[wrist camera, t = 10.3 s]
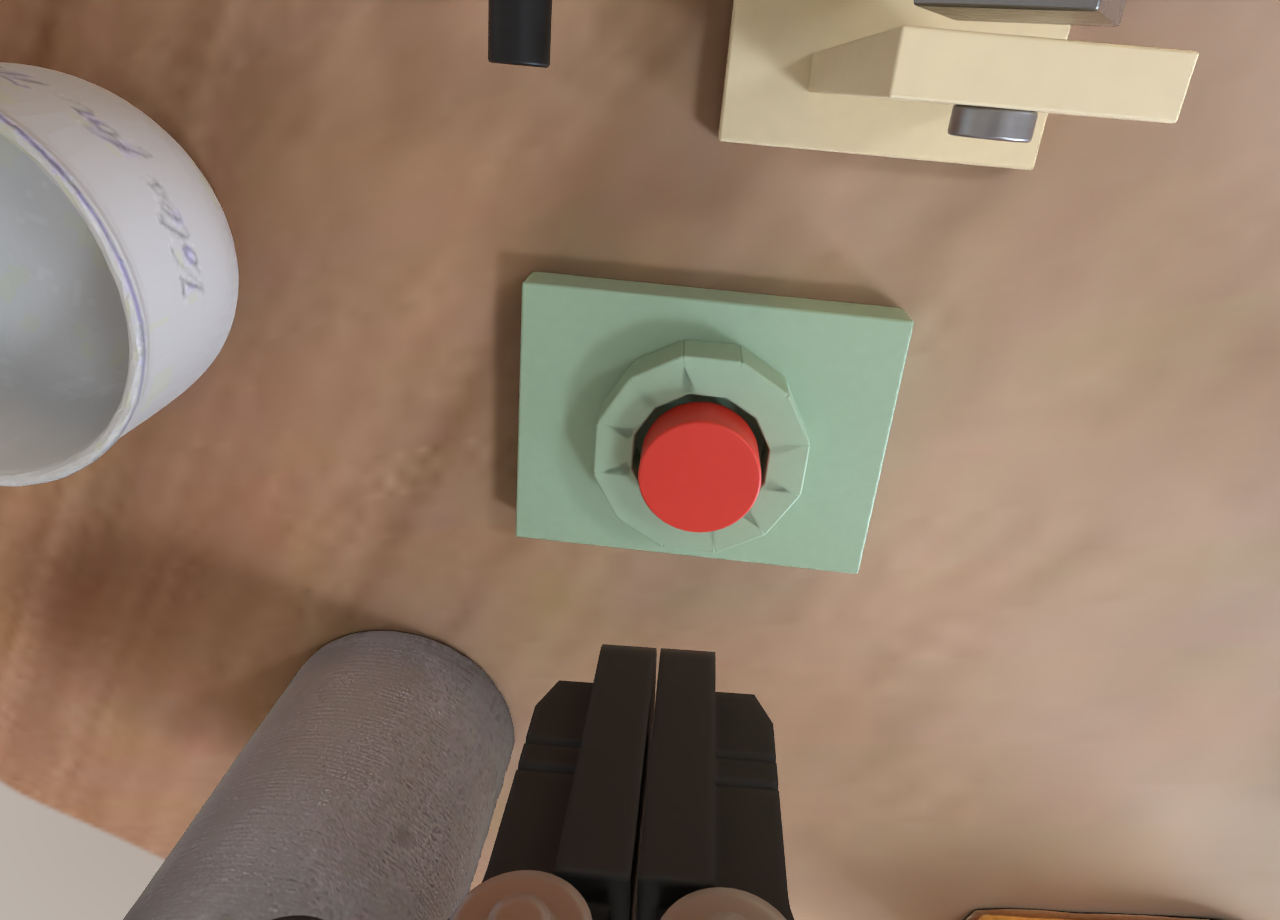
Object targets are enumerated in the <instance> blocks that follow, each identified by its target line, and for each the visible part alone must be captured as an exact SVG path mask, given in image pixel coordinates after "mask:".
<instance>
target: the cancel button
mask: <svg viewBox="0 0 1280 920" xmlns="http://www.w3.org/2000/svg"><path fill="white" fill-rule="evenodd" d="M761 478H762V476H761V466H760V458H759V451H758V446H757V441H756V438H755V436H754V433H753V432H752V430H751V428H750V427H749V425H748V424H747V422H746V421H745V420H744V419H743V418H742V417H741V416H739V415H738V414H737V413H736V412H734V411H732V410H731V409H729V408H727V407H724V406H722V405H719V404H716V403H711V402H689V403H684V404H681V405H678V406H675V407H673V408H671V409H669V410H668V411H666V412H665V413H663V414H662V415H661V416H660V417H658V418H657V419H656V421H655V422H654V423H653V424H652V425H651V427H650V428H649V430H648V432H647V434H646V436H645V439H644V442H643V447H642V452H641V458H640V464H639V470H638V483H639V488H640V492H641V495H642V497H643V499H644V501H645V503H646V504H647V506H648V507H649V509H650V510H651V511H652V512H653V513H654V514H655V515H656V516H657V517H658V518H659V519H661V520H662V521H663V522H665V523H667V524H668V525H670V526H672V527H675V528H677V529H680V530H684V531H689V532H699V533H701V532H711V531H716V530H720V529H723V528H725V527H728V526H730V525H732V524H733V523H735V522H737V521H738V520H739V519H741V518H742V517H743V516H744V515H745V514H746V513H747V512H748V511H749V510H750V508H751V507H752V506H753V504H754V502H755V501H756V499H757V496H758V494H759V491H760V487H761Z"/></svg>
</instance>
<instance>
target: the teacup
mask: <svg viewBox="0 0 1280 920" xmlns="http://www.w3.org/2000/svg"><path fill="white" fill-rule="evenodd" d="M238 288H239V275H238V264H237V256H236V251H235V246H234V241H233V237H232V234H231V231H230V228H229V225H228V222H227V219H226V217H225V215H224V212H223V210H222V208H221V205H220V203H219V201H218V199H217V198H216V196H215V194H214V192H213V190H212V188H211V186H210V185H209V183H208V182H207V180H206V178H205V177H204V175H203V174H202V172H201V171H200V170H199V168H198V167H197V165H196V164H195V163H194V161H193V160H192V159H191V158H190V156H189V155H188V154H187V153H186V152H185V150H184V149H183V148H182V147H181V146H180V145H179V144H178V143H177V142H176V141H175V140H174V139H173V138H172V137H171V136H170V135H169V134H168V133H167V132H166V131H165V130H164V129H163V128H161V127H160V126H159V125H158V124H157V123H156V122H154V121H153V120H152V119H151V118H150V117H148V116H147V115H146V114H145V113H143V112H142V111H140V110H139V109H137V108H136V107H134V106H133V105H131V104H130V103H129V102H127V101H126V100H124V99H123V98H121V97H119V96H117V95H115V94H114V93H112V92H110V91H108V90H106V89H104V88H102V87H100V86H98V85H95V84H93V83H90V82H88V81H86V80H83V79H81V78H78V77H76V76H73V75H69V74H66V73H63V72H59V71H56V70H51V69H47V68H42V67H38V66H31V65H24V64H17V63H5V62H0V486H26V485H34V484H41V483H46V482H50V481H55V480H59V479H62V478H64V477H66V476H68V475H71V474H73V473H75V472H77V471H79V470H81V469H82V468H84V467H86V466H87V465H89V464H91V463H93V462H94V461H96V460H97V459H98V458H99V457H100V456H102V455H103V454H104V453H105V452H106V451H107V450H108V449H109V448H111V447H112V446H113V445H114V444H115V443H116V441H117V440H118V439H119V438H120V437H122V436H123V435H125V434H126V433H128V432H129V431H131V430H132V429H134V428H135V427H137V426H138V425H139V424H141V423H142V422H144V421H145V420H147V419H148V418H149V417H151V416H152V415H154V414H155V413H156V412H158V411H159V410H161V409H162V408H163V407H165V406H166V405H168V404H169V403H170V402H171V401H173V400H174V399H175V398H177V397H178V396H179V395H180V394H182V393H183V392H184V391H186V390H187V389H188V388H189V387H190V386H191V385H192V384H193V383H194V382H195V381H196V380H197V379H198V378H199V377H200V376H201V375H202V374H203V373H204V372H205V371H206V370H207V368H208V367H209V366H210V365H211V364H212V362H213V361H214V359H215V358H216V357H217V355H218V354H219V352H220V351H221V349H222V347H223V345H224V343H225V341H226V339H227V336H228V334H229V332H230V329H231V326H232V323H233V320H234V317H235V311H236V305H237V299H238Z"/></svg>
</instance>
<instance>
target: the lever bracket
mask: <svg viewBox="0 0 1280 920" xmlns="http://www.w3.org/2000/svg"><path fill="white" fill-rule="evenodd" d="M1070 27H1071V25H1054V24H1029V23H1005V22H980V21H956V20H953V19H950V18H948V17H945V16H942V15H940V14H937V13H934V12H932V11H929V10H926V9H924V8H921V7H918V6H916V5H914V0H734V1H733V10H732V19H731V28H730V37H729V45H728V54H727V63H726V72H725V81H724V89H723V98H722V107H721V116H720V124H719V133H718V137H719V140H720V141H723V142H733V143H744V144H755V145H765V146H776V147H787V148H797V149H808V150H819V151H829V152H840V153H851V154H861V155H872V156H883V157H893V158H904V159H915V160H925V161H936V162H947V163H957V164H968V165H979V166H989V167H1000V168H1011V169H1021V170H1032V169H1033V168H1034V165H1035V161H1036V157H1037V153H1038V149H1039V145H1040V142H1041V138H1042V134H1043V130H1044V126H1045V123H1046V119H1047V115H1048V113H1051V114H1063V115H1076V116H1088V117H1100V118H1112V119H1124V120H1136V121H1148V122H1160V123H1175V122H1176V121H1177V120H1178V117H1179V114H1180V111H1181V108H1182V104H1183V101H1184V98H1185V95H1186V92H1187V89H1188V86H1189V83H1190V80H1191V76H1192V73H1193V70H1194V67H1195V64H1196V61H1197V58H1198V53H1197V52H1196V51H1189V50H1177V49H1166V48H1155V47H1144V46H1132V45H1121V44H1110V43H1098V42H1087V41H1076V40H1067V39H1068V35H1069V31H1070Z"/></svg>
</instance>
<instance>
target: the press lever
mask: <svg viewBox="0 0 1280 920" xmlns="http://www.w3.org/2000/svg"><path fill="white" fill-rule="evenodd" d="M1126 1H1127V0H914V5H916V6H918V7H921V8H924V9H926V10H929V11H932V12H934V13H937V14H940V15H942V16H945V17H948V18H950V19H953V20H956V21H980V22H1005V23H1029V24H1054V25H1078V26H1103V27H1116V26H1118V25H1119V24H1120V22H1121V18H1122V15H1123V11H1124V8H1125V4H1126ZM551 14H552V0H489V22H488V60H489V62H491V63H501V64H511V65H522V66H533V67H545V68H547V67H549V65H550V42H551Z"/></svg>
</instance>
